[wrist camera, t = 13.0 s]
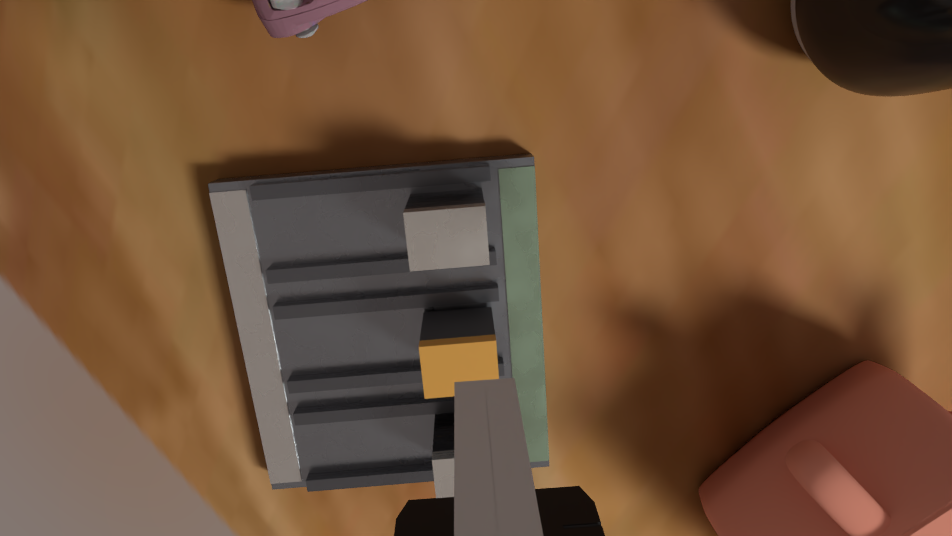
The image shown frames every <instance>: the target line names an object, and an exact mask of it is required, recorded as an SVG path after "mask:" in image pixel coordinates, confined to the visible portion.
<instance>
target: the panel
mask: <svg viewBox="0 0 952 536" xmlns="http://www.w3.org/2000/svg"><path fill="white" fill-rule="evenodd" d="M208 187H209V191H210V193H209V195H210V200H211V204H212V209H213V214H214V219H215V223H216V228H217V233H218V237H219V242H220V247H221V252H222V256H223V261H224V266H225V270H226V275H227V280H228V285H229V289H230V294H231V299H232V304H233V308H234V313H235V318H236V322H237V327H238V332H239V337H240V341H241V346H242V351H243V355H244V360H245V365H246V370H247V374H248V379H249V384H250V389H251V393H252V398H253V403H254V407H255V412H256V417H257V422H258V426H259V431H260V436H261V440H262V445H263V450H264V455H265V459H266V464H267V469H268V473H269V478H270V483H271V485H272V489H284V488H296V487H307V491H308V492H309V491H321V490H333V489H345V488H357V487H369V486H381V485H393V484H404V483H416V482H428V481H434V483H435V492H436V498H445V497H454V396H453V397H441V398H429V399H425V398H424V389H423V381H422V372H421V363H420V355H419V341H420V334H421V327H422V320H423V313H424V312H435V311H447V310H459V309H471V308H483V307H491V308H492V315H493V322H494V329H495V336H496V345H497V358H498V372H499V379H505V378H515V384H516V389H517V395H518V400H519V406H520V411H521V416H522V422H523V427H524V433H525V438H526V444H527V449H528V455H529V460H530V465H531V468H534V467H546V466H549V448H548V428H547V407H546V387H545V367H544V346H543V326H542V306H541V285H540V265H539V245H538V224H537V204H536V184H535V166H534V156H533V155H532V154H531V153H529V154H517V155H505V156H493V157H480V158H468V159H456V160H444V161H432V162H420V163H408V164H396V165H383V166H371V167H359V168H347V169H335V170H323V171H311V172H299V173H286V174H274V175H262V176H250V177H238V178H226V179H217V180H215V181H213V182H210V183H208Z"/></svg>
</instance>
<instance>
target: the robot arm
mask: <svg viewBox="0 0 952 536" xmlns="http://www.w3.org/2000/svg"><path fill="white" fill-rule="evenodd" d="M394 536H605V535H604V531H603V528H602V526H601V522H600V519H599V515H598V512H597V509H596V506H595V502H594V501H593V500H592V499H591V498H590V497H589V496H588V495H587V494H586V493H585V492H584V491H583V490H582V489H581V487H580V486H572V487H559V488H545V489H535V487H534V482H533V476H532V471H531V465H530V460H529V455H528V449H527V444H526V438H525V433H524V427H523V422H522V416H521V411H520V406H519V400H518V395H517V389H516V384H515V378H505V379H491V380H477V381H463V382H454V497H445V498H431V499H418V500H408V502H407V503H406V505H405V506H404V508H403V509H402V511H401V512H400V514H399V515H398V517H397V518H396V525H395V533H394Z"/></svg>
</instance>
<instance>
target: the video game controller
mask: <svg viewBox="0 0 952 536" xmlns="http://www.w3.org/2000/svg"><path fill="white" fill-rule="evenodd" d="M252 1H253V3H254V6H255V9H256V12H257V14H258V17H259V18H260V20H261V21H262V23H263V25H264V26H265V28H266V29H267V31H268V33H269V34H270V36H272V37H274V38H281V37H289V36H292V35H295V34H296V36H297V37H299V38H307V37H310V36H312V35H313V34H314V33H315V32H316V30H317V29H318V24H317V23H318V22H320V21H321V20H322V19H324V18H325V17H327V16H330V15H333V14H335V13H338V12H340V11H343V10H346V9H348V8H351V7H353V6H356V5H358V4H360V3H362V2H365V1H367V0H252Z"/></svg>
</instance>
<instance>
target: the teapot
mask: <svg viewBox="0 0 952 536" xmlns="http://www.w3.org/2000/svg"><path fill="white" fill-rule="evenodd" d="M699 496H700V499H701V503H702V506H703V509H704V512H705V514H706V516H707V518H708V520H709V521H710V523H711V525H712V526H713V528H714V530H715V531H716V533H717V535H718V536H952V412H951V411H947V410H945V409H944V408H943V407H942V406H941V405H939V404H938V403H937V402H935V401H934V400H933V399H932V398H930V397H929V396H928V395H927V394H925V393H924V392H923V391H921V390H920V389H919V388H917V387H916V386H915V385H913V384H912V383H911V382H910V381H908V380H907V379H905V378H904V377H902V376H901V375H900V374H898V373H897V372H895V371H893V370H891V369H889V368H887V367H885V366H883V365H880V364H878V363H875V362H872V361H870V360H866V361H863V362H860V363H858V364H857V365H855V366H853V367H851V368H850V369H848V370H846V371H845V372H843V373H842V374H840V375H839V376H837V377H836V378H834V379H833V380H831V381H830V382H828V383H827V384H825V385H824V386H822V387H821V388H819V389H818V390H817V391H815V392H814V393H812V394H811V395H809V396H808V397H807V398H805V399H804V400H802V401H801V402H799V403H798V404H796V405H795V406H794V407H792V408H791V409H789V410H788V411H787V412H785V413H784V414H783V415H781V416H780V417H779V418H777V419H776V420H775V421H773V422H772V423H771V424H770V425H768V426H767V427H766V428H764V429H763V430H762V431H761V432H760V433H758V434H757V435H756V436H755V437H754V438H752V439H751V440H750V441H749V442H748V443H746V444H745V445H744V446H743V447H742V448H741V449H739V450H738V451H737V452H736V453H735V454H734V455H732V456H731V457H730V458H729V459H728V460H727V461H725V462H724V463H723V464H722V465H721V466H720V467H719V468H718V469H716V470H715V471H714V472H713V473H712V474H711V475H710V476H709V477H708V478H707V479H706V480H705V481H704V482H703V483H702V484H701V486H700V487H699Z"/></svg>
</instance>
